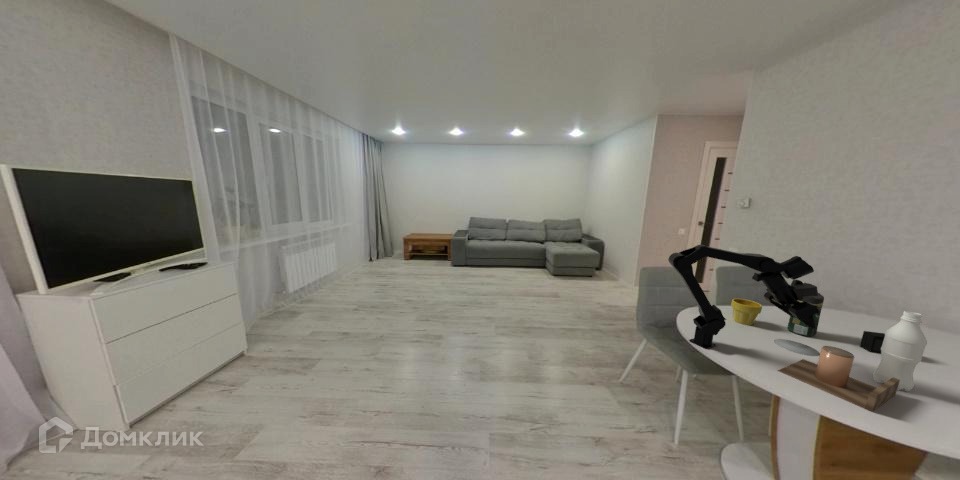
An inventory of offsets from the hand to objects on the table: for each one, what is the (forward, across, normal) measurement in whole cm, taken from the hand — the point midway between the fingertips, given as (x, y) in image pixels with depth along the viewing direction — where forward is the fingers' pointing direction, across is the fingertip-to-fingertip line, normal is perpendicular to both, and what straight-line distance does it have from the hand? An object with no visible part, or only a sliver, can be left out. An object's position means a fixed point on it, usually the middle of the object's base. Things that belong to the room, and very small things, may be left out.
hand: (803, 322), depth 100 cm
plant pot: (+11, +31, +10) cm, 34 cm away
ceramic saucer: (+14, +8, +5) cm, 17 cm away
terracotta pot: (+11, -14, +7) cm, 19 cm away
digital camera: (+33, +19, -20) cm, 43 cm away
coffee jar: (+22, +28, -5) cm, 36 cm away
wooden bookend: (+12, -14, +8) cm, 20 cm away
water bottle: (+22, -9, -6) cm, 25 cm away
